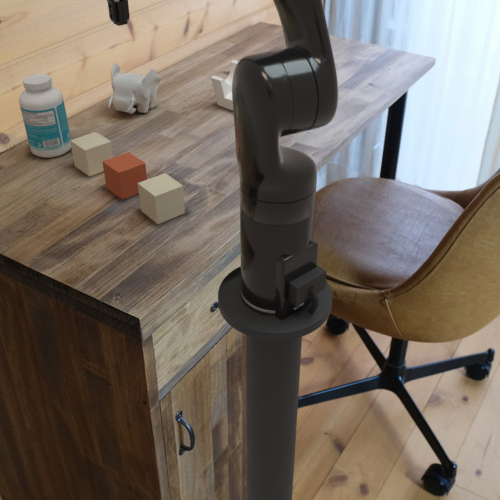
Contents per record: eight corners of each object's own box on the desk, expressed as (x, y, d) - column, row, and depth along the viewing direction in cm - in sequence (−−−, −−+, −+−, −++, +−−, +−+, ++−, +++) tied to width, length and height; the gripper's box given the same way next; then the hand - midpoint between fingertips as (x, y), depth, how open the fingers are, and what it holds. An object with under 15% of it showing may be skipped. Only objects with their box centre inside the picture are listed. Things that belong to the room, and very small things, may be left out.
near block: (185, 213, 100) (183, 185, 97) (157, 224, 98) (154, 196, 95) (167, 200, 104) (165, 172, 101) (140, 210, 101) (137, 182, 98)
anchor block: (148, 189, 106) (145, 162, 103) (122, 200, 104) (118, 172, 101) (132, 178, 109) (128, 151, 106) (106, 188, 107) (102, 161, 104)
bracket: (218, 108, 135) (210, 77, 129) (240, 90, 138) (233, 59, 132) (266, 126, 128) (260, 94, 122) (288, 107, 131) (283, 74, 125)
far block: (114, 167, 113) (111, 141, 110) (89, 176, 110) (85, 150, 107) (99, 157, 116) (95, 131, 113) (74, 166, 113) (69, 140, 110)
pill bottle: (54, 137, 122) (40, 67, 114) (81, 147, 119) (68, 76, 111) (21, 152, 117) (5, 80, 109) (49, 163, 114) (34, 90, 106)
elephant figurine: (98, 117, 129) (92, 74, 124) (130, 96, 138) (125, 55, 133) (140, 125, 126) (135, 82, 121) (169, 102, 135) (166, 61, 130)
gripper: (77, -90, 87) (95, 38, 98) (159, -100, 94) (168, 21, 105) (52, -97, 92) (71, 26, 102) (131, -106, 99) (142, 11, 109)
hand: (120, 23), depth 103 cm, fingers closed
